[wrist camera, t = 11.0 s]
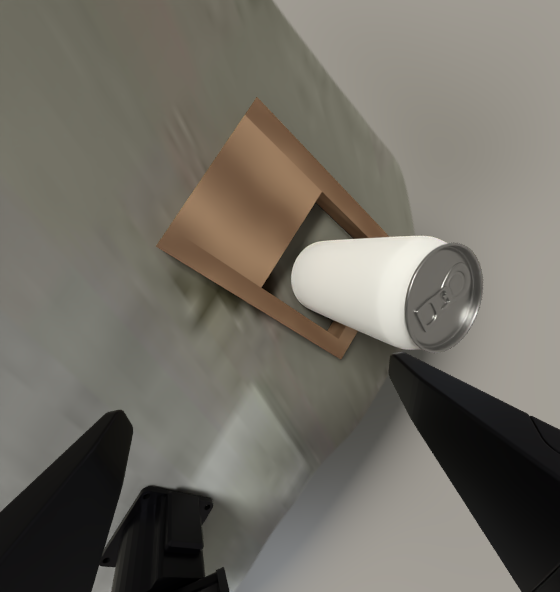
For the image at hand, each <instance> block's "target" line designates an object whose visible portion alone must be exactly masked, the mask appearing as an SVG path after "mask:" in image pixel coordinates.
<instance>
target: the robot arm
mask: <svg viewBox="0 0 560 592" xmlns="http://www.w3.org/2000/svg"><path fill="white" fill-rule="evenodd" d="M389 376H390V379H391V381H392V383H393V385H394V387H395V389H396V391H397V393H398V394H399V397H400V399H401V401H402V402H403V404H404V406H405V408H406V410H407V412H408V414H409V416H410V418H411V420H412V421H413V423H414V425H415V426H416V428H417V429H418V431H419V432H420V434H421V436H422V437H423V439H424V440H425V441H426V443H427V445H428V447H429V448H430V450H431V451H432V453H433V454H434V456H435V457H436V459H437V460H438V462H439V464H440V465H441V467H442V468H443V470H444V471H445V473H446V474H447V476H448V478H449V479H450V481H451V482H452V484H453V485H454V487H455V489H456V490H457V492H458V493H459V495H460V496H461V498H462V499H463V501H464V502H465V504H466V506H467V507H468V509H469V511H470V512H471V514H472V515H473V517H474V518H475V520H476V521H477V523H478V525H479V526H480V528H481V529H482V531H483V532H484V534H485V535H486V537H487V539H488V540H489V542H490V543H491V545H492V546H493V548H494V549H495V551H496V552H497V554H498V556H499V557H500V559H501V560H502V562H503V563H504V565H505V567H506V568H507V570H508V571H509V573H510V575H511V576H512V578H513V579H514V581H515V582H516V584H517V585H518V587H519V588H520V590H521V592H560V429H558V428H555V427H553V426H551V425H549V424H547V423H545V422H543V421H541V420H539V419H537V418H535V417H533V416H529V415H528V414H527V413H525V412H523V411H521V410H519V409H517V408H515V407H513V406H511V405H509V404H507V403H505V402H503V401H501V400H499V399H497V398H495V397H493V396H491V395H489V394H487V393H485V392H483V391H481V390H479V389H477V388H475V387H473V386H471V385H469V384H467V383H465V382H463V381H461V380H459V379H457V378H455V377H453V376H451V375H449V374H447V373H445V372H443V371H441V370H439V369H437V368H435V367H432V366H430V365H429V364H427V363H425V362H423V361H421V360H419V359H417V358H415V357H412V356H411V355H409V354H407V353H404V352H398V353H393V354H391V356H390V362H389ZM132 435H133V427H132V424H131V423H130V421H129V419H128V418H127V416H126V414H125V413H124V411H122V410H115V411H111V412H107V413H106V414H105V415H103V416H102V417H101V418H100V419H99V420H98V421H97V422H96V423H95V424H94V425H93V426H92V427H91V428H90V429H89V430H87V431H86V432H85V433H84V434H83V435H82V436H81V437H80V438H79V439H78V440H77V441H76V442H75V443H74V444H73V445H71V446H70V447H69V448H68V449H67V450H66V451H65V452H64V453H63V454H62V455H61V456H60V457H59V458H58V459H57V460H55V461H54V462H53V463H52V464H51V465H50V466H49V467H48V468H47V469H46V470H45V471H44V472H43V473H42V474H41V475H39V476H38V477H37V478H36V479H35V480H34V481H33V482H32V483H31V484H30V485H29V486H28V487H27V488H26V489H25V490H23V491H22V492H21V493H20V494H19V495H18V496H17V497H16V498H15V499H14V500H13V501H12V502H11V503H10V504H8V505H7V506H6V507H5V508H4V509H3V510H2V511H1V512H0V592H91V591H92V588H93V584H94V581H95V578H96V574H97V571H98V567H99V565H100V566H105V567H116V568H115V574H114V579H113V585H112V591H111V592H229V588H228V583H227V579H226V574H225V570H224V567H222V568H220V569H218V570H216V572H215V573H213V574H210V575H208V576H206V577H205V570H204V560H203V550H202V549H203V547H204V543H203V533H202V524H203V523H204V521H205V519H206V518H207V516H208V514H209V513H210V511H211V509H212V508H213V501H212V499H211V498H207V497H201V496H196V495H191V494H186V493H181V492H176V491H171V490H165V489H160V488H155V487H145V488H143V489H142V490H141V492H140V493H139V495H138V496H137V498H136V500H135V501H134V503H133V504H132V506H131V508H130V509H129V511H128V512H127V514H126V515H125V517H124V519H123V520H122V522H121V523H120V525H119V527H118V528H117V530H116V531H115V533H114V535H113V536H112V538H111V539H110V541H109V542H108V544H107V546H106V547H105V544H106V540H107V537H108V534H109V530H110V527H111V523H112V520H113V517H114V513H115V510H116V506H117V503H118V500H119V496H120V493H121V489H122V485H123V481H124V477H125V471H126V466H127V461H128V456H129V451H130V446H131V441H132ZM145 494H148V495H145ZM206 505H207V506H206ZM104 547H105V549H104Z"/></svg>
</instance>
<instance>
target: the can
mask: <svg viewBox="0 0 560 592" xmlns="http://www.w3.org/2000/svg"><path fill="white" fill-rule="evenodd" d="M291 283H292V288H293V292H294V294H295V296H296V298H297V299H298V301H299V302H300V303H301V304H302V305H303V306H305V307H306V308H308V309H310V310H312V311H314V312H316V313H319V314H321V315H323V316H325V317H328V318H330V319H332V320H334V321H337V322H339V323H341V324H343V325H346V326H348V327H350V328H353V329H355V330H357V331H359V332H362V333H364V334H366V335H369V336H371V337H373V338H375V339H378V340H380V341H382V342H385V343H387V344H390V345H392V346H395V347H398V348H401V349H407V350H416V349H422V350H424V351H426V352H430V353H440V352H444V351H446V350H449V349H451V348H452V347H454V346H455V345H456V344H458V343H459V342H460V341H461V340H462V339H463V338H464V336H465V335H466V334H467V333H468V331H469V330H470V328H471V326H472V325H473V323H474V321H475V318H476V316H477V314H478V311H479V308H480V304H481V300H482V293H483V276H482V271H481V267H480V263H479V261H478V259H477V257H476V255H475V254H474V253H473V251H472V250H471V249H469V248H468V247H467V246H465V245H463V244H460V243H446V242H444V241H442V240H440V239H437V238H434V237H430V236H401V237H381V238H363V239H346V240H330V241H320V242H316V243H313V244H311V245H309V246H307V247H306V248H305V249H304V250H303V251H302V252H301V253H300V254H299V256H298V257H297V259H296V261H295V263H294V265H293V269H292V275H291Z"/></svg>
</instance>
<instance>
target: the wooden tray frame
mask: <svg viewBox="0 0 560 592" xmlns="http://www.w3.org/2000/svg"><path fill="white" fill-rule="evenodd" d="M315 202H316V203H317V204H318V205H319V206H320V207H321V208H322V209H323V210H324V211H326V212H327V213H328V214H329V215H330V216H331V217H332V218H333V219H334V220H335V221H336V222H337V223H338V224H339V225H340V226H341V227H342V228H343V229H344V230H345V231H347V232H348V233H349V234H350V235H351V236H352V237H353V238H354V239H363V238H381V237H389V236H388V235H387V234H386V233H385V232H384V230H383V229H382V228H381V227H380V226H379V225H378V224H377V223H376V222H375V221H374V220H373V219H372V218H371V217H370V216H369V215H368V214H367V213H366V212H365V210H364V209H363V208H362V207H361V206H360V205H359V204H358V203H357V202H356V201H355V200H354V199H353V198H352V197H351V196H350V195H349V194H348V193H347V191H346V190H345V189H344V188H343V187H342V186H341V185H340V184H339V183H338V182H337V181H336V180H335V179H334V178H333V177H332V176H331V175H330V174H329V172H328V171H327V170H326V169H325V168H324V167H323V166H322V165H321V164H320V163H319V162H318V161H317V160H316V159H315V158H314V157H313V156H312V155H311V153H310V152H309V151H308V150H307V149H306V148H305V147H304V146H303V145H302V144H301V143H300V142H299V141H298V140H297V139H296V138H295V137H294V136H293V134H292V133H291V132H290V131H289V130H288V129H287V128H286V127H285V126H284V125H283V124H282V123H281V122H280V121H279V120H278V119H277V118H276V117H275V115H274V114H273V113H272V112H271V111H270V110H269V109H268V108H267V107H266V106H265V105H264V104H263V103H262V102H261V101H260V100H259V99H258V98H257V97H256V99H255V100H254V102H253V103H252V105H251V106H250V108H249V109H248V111H247V112H246V114H245V115H244V117H243V118H242V120H241V121H240V123H239V124H238V126H237V127H236V129H235V130H234V132H233V133H232V134H231V136H230V137H229V139H228V140H227V142H226V143H225V145H224V146H223V148H222V149H221V151H220V152H219V154H218V155H217V157H216V158H215V160H214V161H213V163H212V164H211V166H210V167H209V168H208V170H207V171H206V173H205V174H204V176H203V177H202V179H201V180H200V182H199V183H198V185H197V186H196V188H195V189H194V191H193V192H192V194H191V195H190V197H189V198H188V200H187V201H186V202H185V204H184V205H183V207H182V208H181V210H180V211H179V213H178V214H177V216H176V217H175V219H174V220H173V222H172V223H171V225H170V226H169V228H168V229H167V231H166V232H165V234H164V235H163V237H162V238H161V239H160V241H159V242H158V244H157V245H156V247H158V248H159V249H161V250H163V251H164V252H166V253H168V254H169V255H171V256H173V257H174V258H176V259H177V260H179V261H181V262H182V263H184V264H186V265H187V266H189V267H191V268H192V269H194V270H195V271H197V272H199V273H200V274H202V275H204V276H205V277H207V278H208V279H210V280H212V281H213V282H215V283H217V284H218V285H220V286H222V287H223V288H225V289H226V290H228V291H230V292H231V293H233V294H235V295H236V296H238V297H240V298H241V299H243V300H244V301H246V302H248V303H249V304H251V305H253V306H254V307H256V308H257V309H259V310H261V311H262V312H264V313H266V314H267V315H269V316H271V317H272V318H274V319H275V320H277V321H279V322H280V323H282V324H284V325H285V326H287V327H289V328H290V329H292V330H293V331H295V332H297V333H298V334H300V335H302V336H303V337H305V338H306V339H308V340H310V341H311V342H313V343H315V344H316V345H318V346H320V347H321V348H323V349H324V350H326V351H328V352H329V353H331V354H333V355H334V356H336V357H338V358H339V359H342V357H343V355H344V354H345V352H346V350H347V349H348V347H349V345H350V344H351V342H352V340H353V338H354V337H355V335H356V333H357V332H358V331H357V330H355V329H353V328H350V327H348V326H346V325H343V324H341V323H339V322H337V321H333V322H332V324H331V326H330V327H329V329H328V331H326V330H324V329H323V328H321V327H320V326H318V325H317V324H315V323H314V322H312V321H311V320H309V319H308V318H306V317H305V316H303V315H302V314H300V313H299V312H297V311H296V310H294V309H293V308H291V307H290V306H288V305H287V304H285V303H284V302H282V301H281V300H279V299H278V298H276V297H275V296H273V295H272V294H270V293H269V292H267V291H265V290H264V289H262V288H261V287H262V286H263V284H264V283H265V281H266V279H267V278H268V276H269V275H270V273H271V271H272V270H273V268H274V267H275V265H276V264H277V262H278V260H279V259H280V257H281V256H282V254H283V253H284V251H285V249H286V248H287V246H288V245H289V243H290V241H291V240H292V238H293V237H294V235H295V234H296V232H297V230H298V229H299V227H300V226H301V224H302V222H303V221H304V219H305V218H306V216H307V215H308V213H309V211H310V210H311V208H312V207H313V205H314V203H315Z"/></svg>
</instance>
